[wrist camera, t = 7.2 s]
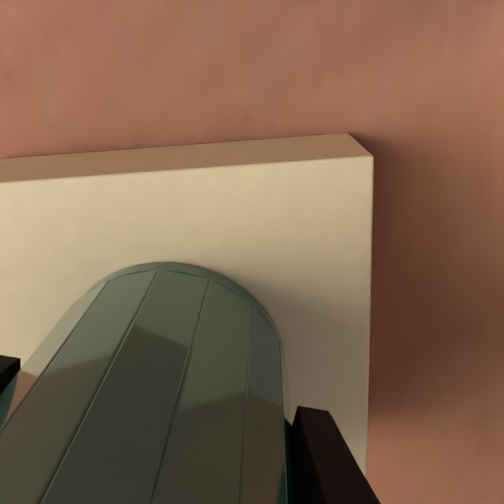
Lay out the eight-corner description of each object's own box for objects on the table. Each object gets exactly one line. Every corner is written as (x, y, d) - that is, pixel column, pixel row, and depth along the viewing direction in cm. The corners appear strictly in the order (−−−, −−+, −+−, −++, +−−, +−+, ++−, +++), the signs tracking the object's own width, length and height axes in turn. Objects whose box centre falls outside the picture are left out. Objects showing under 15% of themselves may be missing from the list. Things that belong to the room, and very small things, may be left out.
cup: (59, 429, 12) (-160, 820, 6) (65, 241, 10) (-265, 537, 4) (262, 461, 12) (256, 871, 6) (308, 284, 10) (371, 631, 4)
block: (78, 425, 16) (36, 505, 13) (1, 158, 12) (-77, 188, 9) (348, 415, 15) (366, 495, 12) (349, 132, 12) (374, 155, 9)
